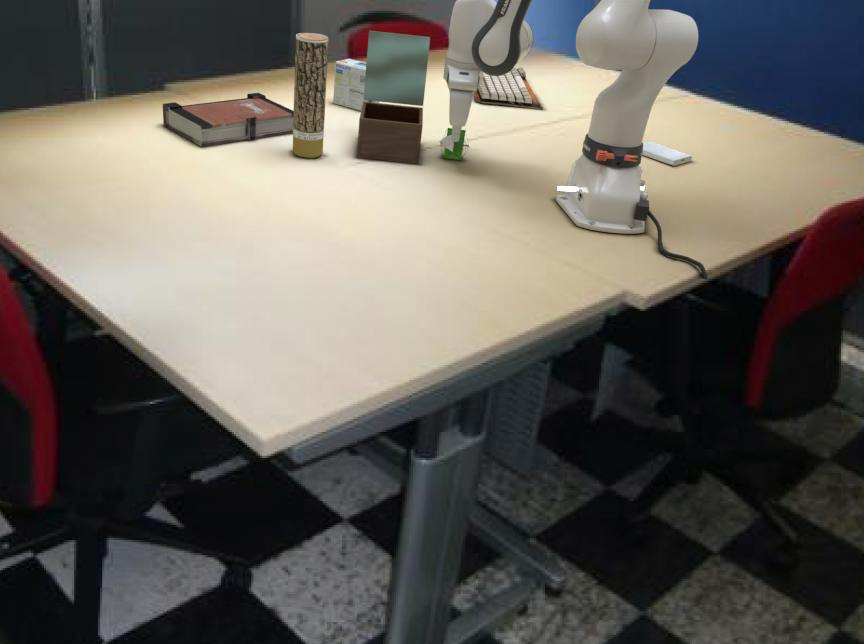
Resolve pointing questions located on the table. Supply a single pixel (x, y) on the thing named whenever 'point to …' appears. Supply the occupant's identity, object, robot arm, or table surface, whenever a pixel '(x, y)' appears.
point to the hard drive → (665, 154)
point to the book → (229, 120)
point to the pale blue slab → (396, 68)
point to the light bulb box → (350, 84)
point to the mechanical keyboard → (507, 90)
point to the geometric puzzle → (453, 145)
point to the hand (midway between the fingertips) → (455, 134)
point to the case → (390, 132)
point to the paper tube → (309, 94)
